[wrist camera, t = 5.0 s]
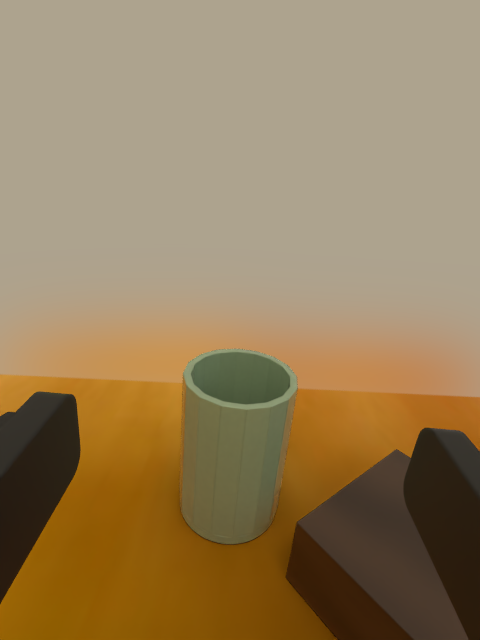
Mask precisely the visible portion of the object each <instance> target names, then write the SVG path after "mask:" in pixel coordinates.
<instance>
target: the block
mask: <svg viewBox="0 0 480 640" xmlns="http://www.w3.org/2000/svg"><path fill="white" fill-rule="evenodd" d="M410 460H411V458H410V457H408V456H407V455H405V454H403V453H402V452H400V451H399V450H397V449H396V450H395V451H393V452H392V453H391V454H389V455H388V456H387V457H385V458H384V459H383V460H381V461H380V462H378V463H377V464H376V465H374V466H373V467H372V468H370V469H369V470H367V471H366V472H365V473H363V474H362V475H361V476H359V477H358V478H357V479H355V480H354V481H352V482H351V483H350V484H348V485H347V486H346V487H344V488H343V489H342V490H340V491H339V492H337V493H336V494H335V495H333V496H332V497H331V498H329V499H328V500H327V501H325V502H324V503H322V504H321V505H320V506H318V507H317V508H316V509H314V510H313V511H312V512H310V513H309V514H307V515H306V516H305V517H303V518H302V519H301V520H299V521H298V522H297V524H296V529H295V534H294V539H293V544H292V549H291V554H290V559H289V564H288V569H287V574H286V579H287V580H288V581H289V582H290V583H291V584H292V586H293V587H294V588H295V589H296V590H297V592H298V593H299V594H300V595H301V596H302V597H303V599H304V600H305V601H306V602H307V603H308V604H309V606H310V607H311V608H312V609H313V610H314V612H315V613H316V614H317V615H318V616H319V617H320V619H321V620H322V621H323V622H324V623H325V625H326V626H327V627H328V628H329V629H330V630H331V632H332V633H333V634H334V635H335V636H336V637H337V639H338V640H469V639H468V637H467V635H466V633H465V630H464V628H463V626H462V624H461V622H460V620H459V618H458V616H457V613H456V611H455V609H454V607H453V605H452V603H451V601H450V598H449V596H448V594H447V592H446V590H445V588H444V586H443V583H442V581H441V579H440V577H439V575H438V573H437V571H436V569H435V566H434V564H433V562H432V560H431V558H430V556H429V554H428V551H427V549H426V547H425V545H424V543H423V541H422V539H421V536H420V534H419V532H418V530H417V528H416V526H415V524H414V522H413V519H412V517H411V515H410V513H409V511H408V509H407V506H406V503H405V499H404V492H403V484H404V478H405V475H406V472H407V469H408V466H409V463H410Z"/></svg>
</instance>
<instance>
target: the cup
mask: <svg viewBox="0 0 480 640" xmlns="http://www.w3.org/2000/svg"><path fill="white" fill-rule="evenodd" d="M297 389H298V387H297V376H296V375H295V374H294V372H293V371H292V370H291V369H290V367H289V366H288V365H286V364H285V363H283V362H281V361H280V360H278V359H276V358H275V357H272V356H269V355H266V354H263V353H260V352H257V351H251V350H243V349H222V350H215V351H211V352H207V353H204V354H201V355H199V356H198V357H196V358H195V359H193V360H192V361H190V362H189V363H188V365H187V366H186V369H185V371H184V372H183V392H182V423H181V454H180V485H179V494H180V508H181V512H182V515H183V517H184V519H185V521H186V522H187V524H188V525H189V526H190V528H191V529H192V530H194V531H195V532H196V533H197V534H199V535H200V536H202V537H203V538H205V539H207V540H210V541H213V542H216V543H221V544H239V543H244V542H248V541H250V540H253V539H255V538H257V537H258V536H260V535H261V534H262V533H264V532H265V531H266V530H267V529H268V527H269V526H270V525H271V523H272V521H273V519H274V517H275V513H276V509H277V507H278V501H279V495H280V489H281V483H282V478H283V472H284V466H285V460H286V454H287V448H288V442H289V436H290V430H291V425H292V419H293V413H294V407H295V401H296V395H297Z"/></svg>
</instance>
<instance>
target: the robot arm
mask: <svg viewBox="0 0 480 640" xmlns="http://www.w3.org/2000/svg"><path fill="white" fill-rule="evenodd" d="M79 458H80V438H79V426H78V415H77V404H76V399H75V397H74V396H73V395H72V394H61V393H50V392H36V393H34V394H33V395H32V396H31V397H30V398H29V399H28V400H27V401H26V402H25V403H24V404H23V405H22V406H21V407H20V408H19V409H18V410H17V411H16V413H15V412H7V413H5V414H4V415H2V416H0V603H1V602H2V600H3V598H4V596H5V595H6V593H7V591H8V589H9V588H10V586H11V584H12V583H13V581H14V579H15V577H16V576H17V574H18V572H19V570H20V569H21V567H22V565H23V563H24V562H25V560H26V558H27V557H28V555H29V553H30V551H31V550H32V548H33V546H34V544H35V543H36V541H37V539H38V537H39V536H40V534H41V532H42V531H43V529H44V527H45V525H46V524H47V522H48V520H49V518H50V517H51V515H52V513H53V511H54V510H55V508H56V506H57V505H58V503H59V501H60V499H61V498H62V496H63V494H64V492H65V491H66V489H67V487H68V485H69V484H70V482H71V480H72V479H73V477H74V475H75V472H76V470H77V467H78V463H79ZM403 492H404V499H405V503H406V506H407V509H408V511H409V513H410V515H411V517H412V519H413V522H414V524H415V526H416V528H417V530H418V532H419V534H420V536H421V539H422V541H423V543H424V545H425V547H426V549H427V551H428V554H429V556H430V558H431V560H432V562H433V564H434V566H435V569H436V571H437V573H438V575H439V577H440V579H441V581H442V583H443V586H444V588H445V590H446V592H447V594H448V596H449V598H450V601H451V603H452V605H453V607H454V609H455V611H456V613H457V616H458V618H459V620H460V622H461V624H462V626H463V628H464V630H465V633H466V635H467V637H468V639H469V640H480V452H479V451H478V449H477V448H476V447H475V446H474V445H473V443H472V442H471V441H470V440H469V438H468V437H467V436H466V435H465V434H464V433H463V432H461V431H456V430H445V429H434V428H424V429H422V431H421V432H420V434H419V436H418V439H417V442H416V445H415V448H414V451H413V454H412V457H411V460H410V463H409V466H408V469H407V472H406V475H405V478H404V484H403Z"/></svg>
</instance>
